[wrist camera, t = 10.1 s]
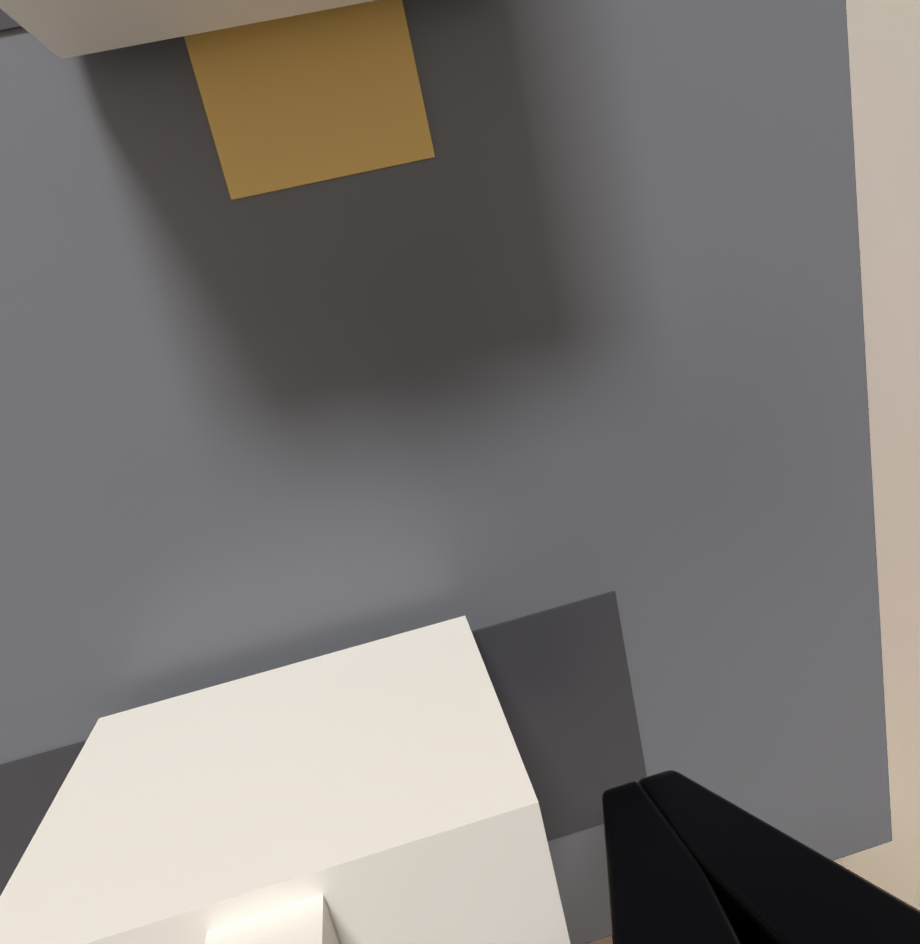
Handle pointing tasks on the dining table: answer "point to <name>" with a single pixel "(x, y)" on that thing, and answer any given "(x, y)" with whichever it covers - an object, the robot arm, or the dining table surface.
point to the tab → (300, 813)
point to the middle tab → (143, 19)
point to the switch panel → (452, 390)
